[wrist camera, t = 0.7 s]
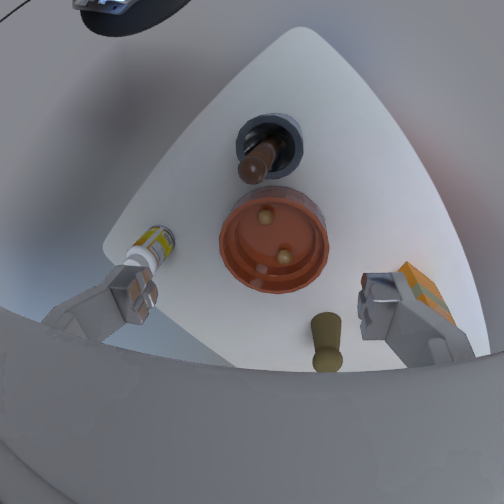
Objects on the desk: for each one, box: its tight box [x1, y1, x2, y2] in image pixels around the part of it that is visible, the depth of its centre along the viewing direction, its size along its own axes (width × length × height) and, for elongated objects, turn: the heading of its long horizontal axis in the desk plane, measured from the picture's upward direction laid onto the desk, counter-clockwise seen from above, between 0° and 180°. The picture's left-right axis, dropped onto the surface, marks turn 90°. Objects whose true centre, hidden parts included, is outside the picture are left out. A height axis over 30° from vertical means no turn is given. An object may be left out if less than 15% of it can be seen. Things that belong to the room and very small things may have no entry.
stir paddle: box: [238, 130, 289, 184], centre depth 25 cm, size 3×2×22 cm, turn 72°
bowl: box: [219, 186, 329, 294], centre depth 40 cm, size 15×15×6 cm
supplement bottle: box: [123, 226, 174, 275], centre depth 42 cm, size 6×6×10 cm
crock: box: [236, 113, 303, 179], centre depth 29 cm, size 6×6×12 cm
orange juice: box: [398, 262, 457, 327], centre depth 34 cm, size 8×9×20 cm
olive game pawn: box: [311, 312, 343, 372], centre depth 45 cm, size 6×6×11 cm
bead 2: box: [277, 249, 293, 265], centre depth 42 cm, size 2×2×2 cm
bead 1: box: [257, 209, 274, 226], centre depth 39 cm, size 2×2×2 cm
